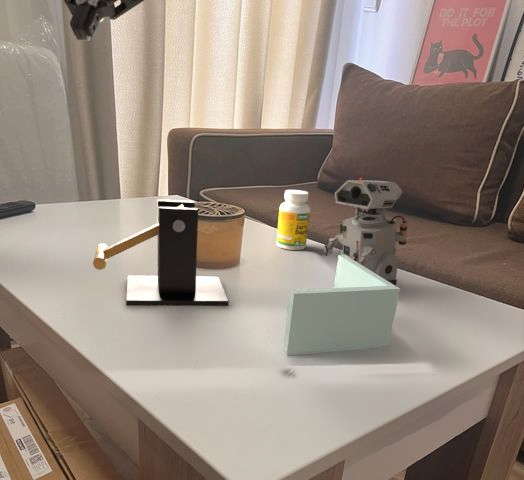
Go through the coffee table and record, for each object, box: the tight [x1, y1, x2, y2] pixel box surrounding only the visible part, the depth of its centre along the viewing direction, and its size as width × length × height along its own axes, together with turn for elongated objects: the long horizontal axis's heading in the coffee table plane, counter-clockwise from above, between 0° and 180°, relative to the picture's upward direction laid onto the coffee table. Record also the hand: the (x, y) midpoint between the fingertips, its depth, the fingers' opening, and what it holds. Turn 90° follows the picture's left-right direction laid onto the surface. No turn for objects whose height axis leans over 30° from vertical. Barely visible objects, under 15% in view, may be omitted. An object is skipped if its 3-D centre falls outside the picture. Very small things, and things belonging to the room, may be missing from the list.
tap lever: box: [92, 204, 184, 271], centre depth 62 cm, size 12×6×2 cm, turn 102°
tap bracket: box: [125, 199, 230, 307], centre depth 64 cm, size 12×9×12 cm
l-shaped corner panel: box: [282, 254, 401, 356], centre depth 59 cm, size 12×12×8 cm
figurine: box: [324, 177, 408, 287], centre depth 75 cm, size 9×12×15 cm
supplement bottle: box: [276, 189, 311, 251], centre depth 92 cm, size 5×5×10 cm
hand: (80, 34), depth 66 cm, fingers closed
